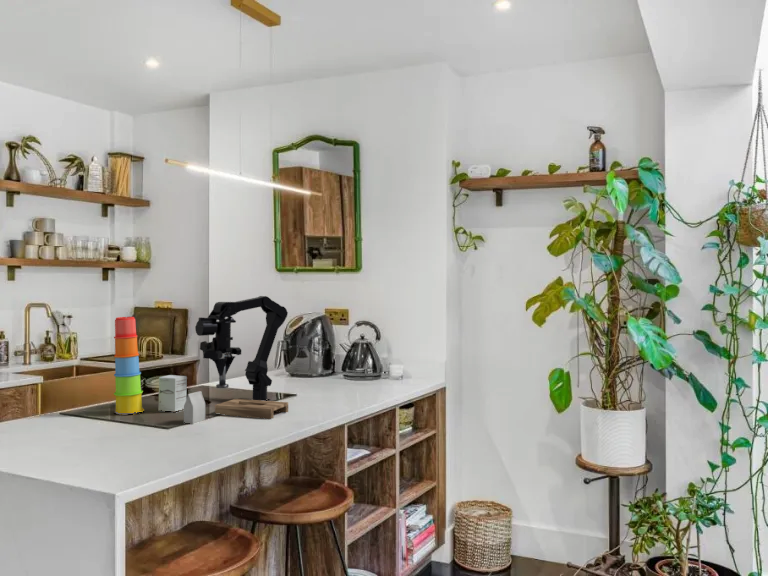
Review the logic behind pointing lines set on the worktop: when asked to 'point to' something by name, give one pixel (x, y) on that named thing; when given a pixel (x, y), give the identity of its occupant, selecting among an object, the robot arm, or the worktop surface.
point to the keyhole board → (251, 408)
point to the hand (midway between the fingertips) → (222, 375)
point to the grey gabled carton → (194, 408)
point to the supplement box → (172, 392)
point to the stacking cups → (127, 367)
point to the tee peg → (222, 380)
